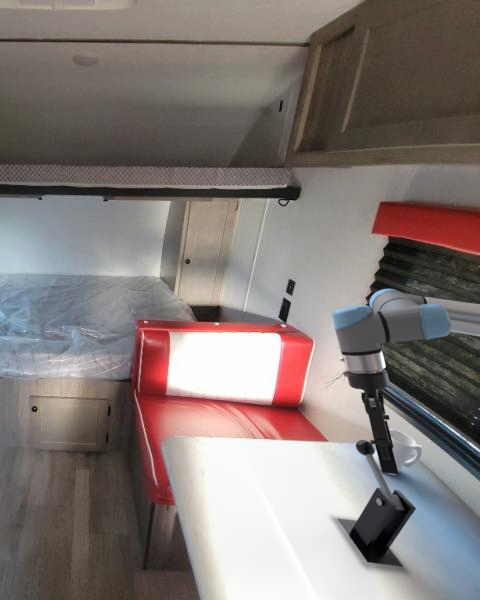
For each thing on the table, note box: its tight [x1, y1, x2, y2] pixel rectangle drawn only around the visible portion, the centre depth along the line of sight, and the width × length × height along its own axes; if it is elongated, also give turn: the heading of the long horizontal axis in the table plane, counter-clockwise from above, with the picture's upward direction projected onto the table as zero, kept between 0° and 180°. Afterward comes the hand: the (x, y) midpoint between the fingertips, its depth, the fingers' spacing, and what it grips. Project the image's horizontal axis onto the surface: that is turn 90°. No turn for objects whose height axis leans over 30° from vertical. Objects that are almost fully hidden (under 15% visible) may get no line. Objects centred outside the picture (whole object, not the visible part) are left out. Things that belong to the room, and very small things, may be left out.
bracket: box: [337, 487, 417, 568], centre depth 76 cm, size 10×8×16 cm
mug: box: [373, 428, 423, 476], centre depth 100 cm, size 10×7×12 cm, turn 73°
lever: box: [355, 439, 405, 512], centre depth 78 cm, size 15×4×4 cm, turn 177°
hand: (388, 459), depth 79 cm, fingers open, 13 cm apart
